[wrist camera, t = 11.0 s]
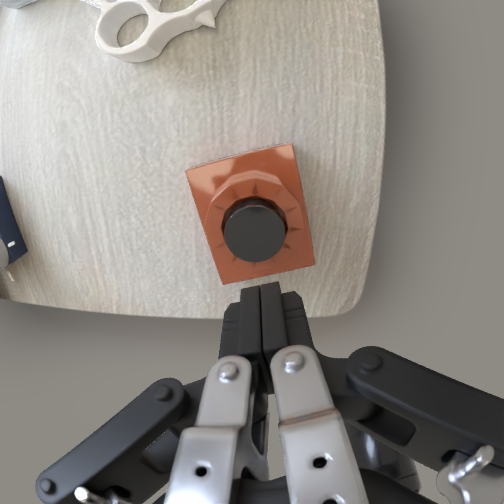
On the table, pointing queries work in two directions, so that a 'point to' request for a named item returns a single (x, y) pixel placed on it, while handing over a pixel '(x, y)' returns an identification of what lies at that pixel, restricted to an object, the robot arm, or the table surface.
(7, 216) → the dial panel
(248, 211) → the dark grey short cylinder
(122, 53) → the white brass knuckles
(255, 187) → the button base
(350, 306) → the table surface
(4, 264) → the dial
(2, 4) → the cosmetic box
